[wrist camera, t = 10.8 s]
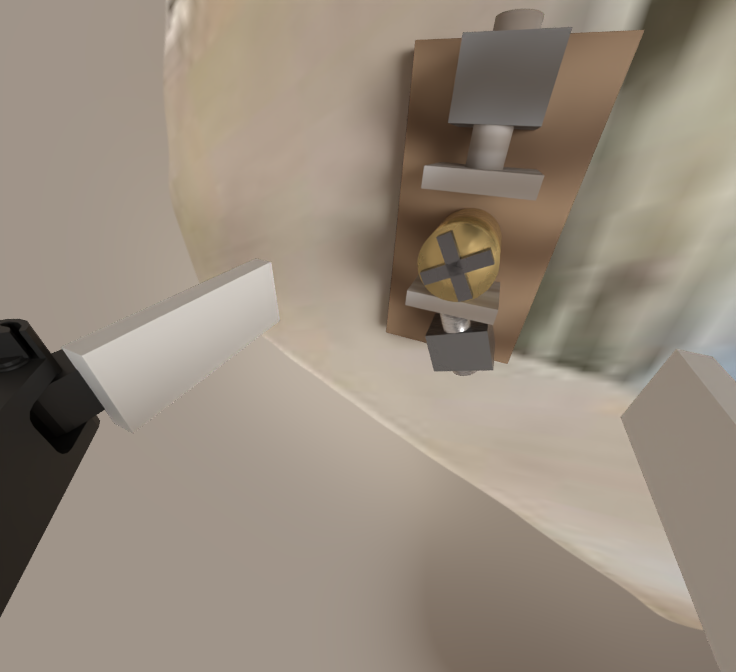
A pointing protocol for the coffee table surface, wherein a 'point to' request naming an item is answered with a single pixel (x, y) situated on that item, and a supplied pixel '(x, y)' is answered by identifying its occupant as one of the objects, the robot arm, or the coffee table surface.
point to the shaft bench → (511, 214)
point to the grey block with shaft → (460, 344)
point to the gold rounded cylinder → (461, 256)
